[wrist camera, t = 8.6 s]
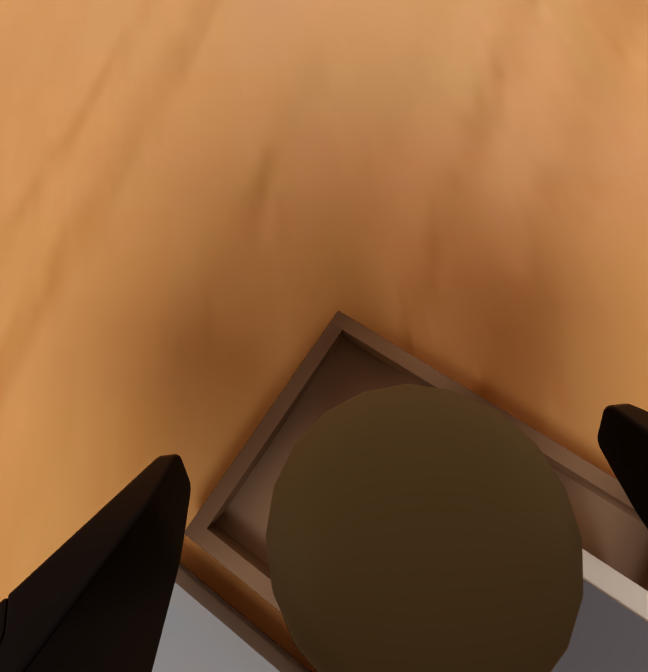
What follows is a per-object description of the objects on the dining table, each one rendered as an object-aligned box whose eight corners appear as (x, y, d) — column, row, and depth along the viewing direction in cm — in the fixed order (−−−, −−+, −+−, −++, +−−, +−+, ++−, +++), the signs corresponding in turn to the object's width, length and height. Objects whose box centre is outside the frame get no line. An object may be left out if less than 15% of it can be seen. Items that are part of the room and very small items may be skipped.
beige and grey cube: (611, 584, 15) (703, 627, 11) (562, 695, 14) (642, 783, 10) (505, 514, 16) (555, 530, 12) (452, 615, 15) (488, 667, 11)
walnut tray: (682, 532, 16) (715, 538, 14) (560, 818, 14) (585, 860, 12) (339, 322, 19) (338, 310, 17) (198, 527, 17) (183, 533, 15)
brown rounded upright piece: (328, 397, 18) (293, 298, 7) (474, 441, 17) (685, 403, 6) (281, 551, 16) (146, 718, 5) (440, 608, 15) (643, 939, 5)
